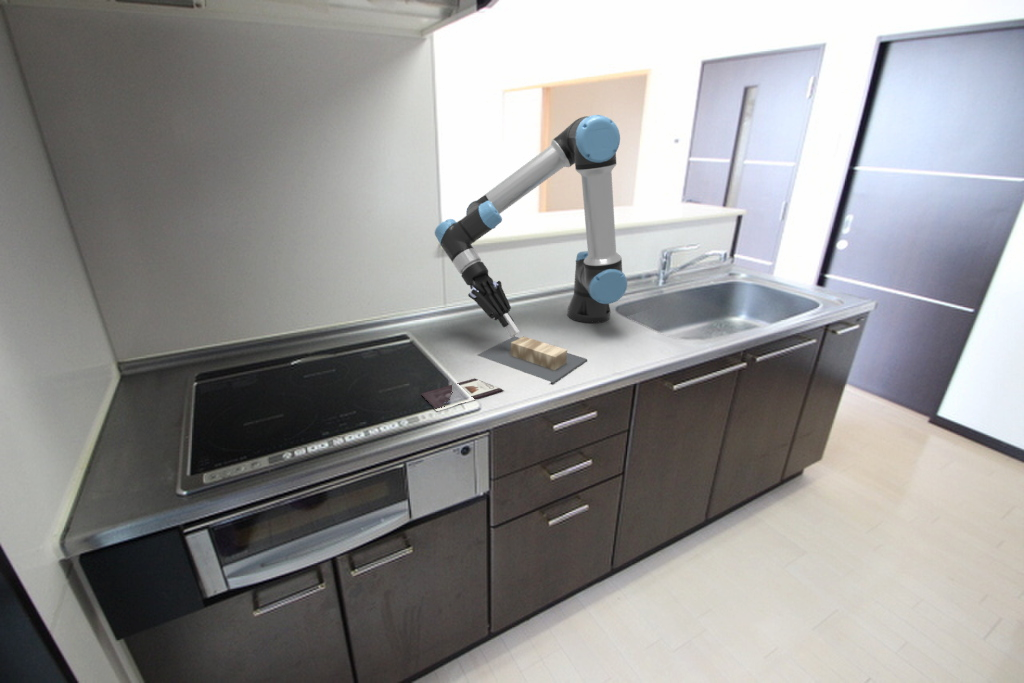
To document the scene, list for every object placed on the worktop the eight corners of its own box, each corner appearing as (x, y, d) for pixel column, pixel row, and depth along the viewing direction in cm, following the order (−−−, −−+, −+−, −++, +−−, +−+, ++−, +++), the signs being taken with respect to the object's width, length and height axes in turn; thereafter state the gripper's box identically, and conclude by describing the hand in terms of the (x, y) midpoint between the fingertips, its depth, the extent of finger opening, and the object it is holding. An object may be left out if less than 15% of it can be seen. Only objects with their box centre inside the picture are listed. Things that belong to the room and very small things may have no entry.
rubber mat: (476, 356, 137) (476, 354, 137) (514, 337, 150) (514, 336, 150) (552, 384, 123) (553, 382, 123) (587, 360, 136) (587, 359, 136)
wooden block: (510, 342, 135) (555, 357, 127) (523, 336, 140) (567, 349, 132) (510, 355, 137) (554, 370, 129) (523, 348, 141) (566, 362, 133)
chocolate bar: (420, 393, 116) (484, 375, 126) (420, 396, 117) (484, 378, 126) (436, 410, 110) (502, 389, 119) (436, 413, 110) (502, 393, 119)
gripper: (479, 270, 147) (521, 333, 145) (449, 279, 138) (493, 347, 135) (492, 256, 142) (536, 321, 140) (462, 264, 133) (509, 334, 130)
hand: (515, 334), depth 137 cm, fingers closed
